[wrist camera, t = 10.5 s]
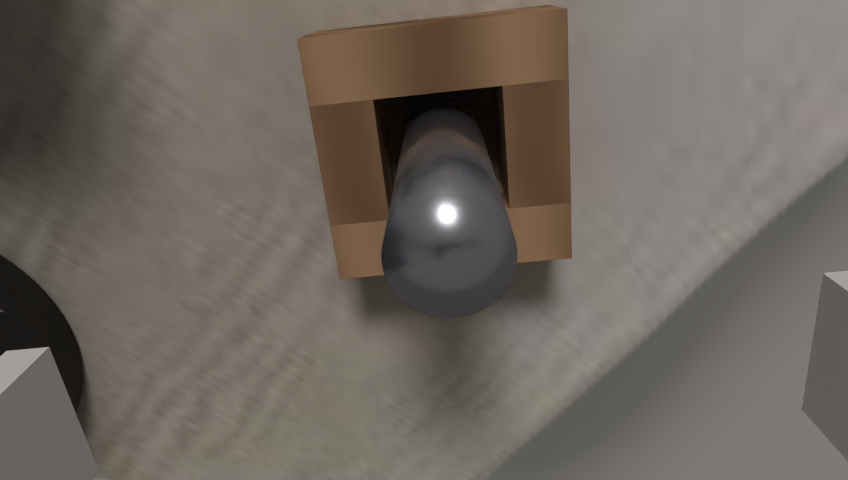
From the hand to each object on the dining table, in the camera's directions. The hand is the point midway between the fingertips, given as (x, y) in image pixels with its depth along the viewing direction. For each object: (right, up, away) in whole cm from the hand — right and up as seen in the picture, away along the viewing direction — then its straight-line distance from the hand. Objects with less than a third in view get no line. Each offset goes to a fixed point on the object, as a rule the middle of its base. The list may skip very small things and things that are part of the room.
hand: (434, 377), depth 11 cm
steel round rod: (+1, +7, +18) cm, 19 cm away
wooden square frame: (+1, +7, +18) cm, 19 cm away
